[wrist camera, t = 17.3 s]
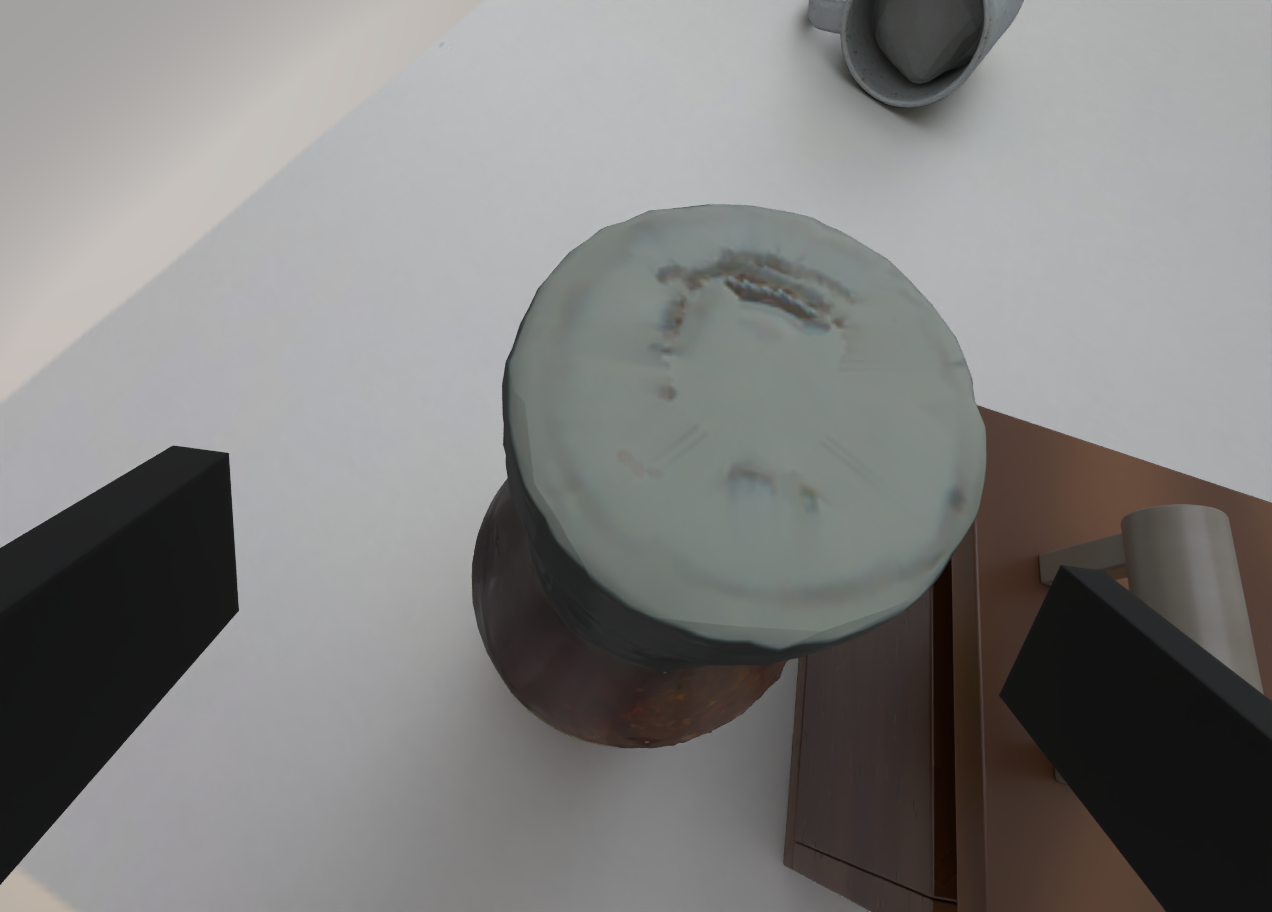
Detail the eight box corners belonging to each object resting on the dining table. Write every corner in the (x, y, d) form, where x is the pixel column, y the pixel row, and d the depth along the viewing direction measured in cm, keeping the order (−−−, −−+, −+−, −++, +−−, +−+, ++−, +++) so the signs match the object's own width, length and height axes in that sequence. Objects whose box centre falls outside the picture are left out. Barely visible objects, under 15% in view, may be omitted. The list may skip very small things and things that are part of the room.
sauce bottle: (600, 520, 25) (779, -12, 7) (713, 645, 24) (1275, 389, 6) (460, 638, 23) (196, 287, 5) (578, 783, 22) (826, 1053, 4)
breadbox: (782, 865, 22) (931, 944, 14) (808, 533, 26) (929, 446, 18) (1135, 931, 22) (1471, 1043, 14) (1099, 598, 27) (1337, 542, 19)
